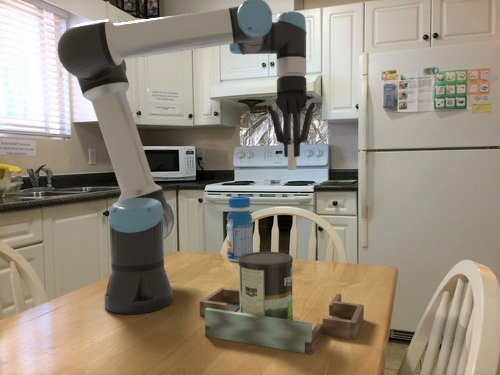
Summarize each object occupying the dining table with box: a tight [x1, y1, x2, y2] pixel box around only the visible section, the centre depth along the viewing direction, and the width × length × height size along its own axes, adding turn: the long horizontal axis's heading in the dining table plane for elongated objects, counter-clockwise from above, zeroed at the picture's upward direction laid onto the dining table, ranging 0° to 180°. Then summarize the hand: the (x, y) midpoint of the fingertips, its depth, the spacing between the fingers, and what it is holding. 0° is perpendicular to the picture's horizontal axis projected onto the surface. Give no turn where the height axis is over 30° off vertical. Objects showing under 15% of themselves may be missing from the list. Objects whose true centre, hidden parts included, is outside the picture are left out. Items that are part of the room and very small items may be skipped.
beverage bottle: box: [226, 196, 254, 263], centre depth 136 cm, size 8×8×20 cm
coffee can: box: [237, 251, 294, 320], centre depth 80 cm, size 10×10×14 cm
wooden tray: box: [199, 287, 365, 355], centre depth 86 cm, size 32×26×5 cm
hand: (292, 169), depth 109 cm, fingers closed
